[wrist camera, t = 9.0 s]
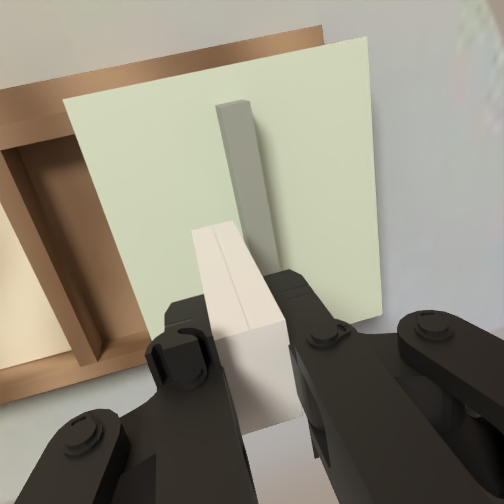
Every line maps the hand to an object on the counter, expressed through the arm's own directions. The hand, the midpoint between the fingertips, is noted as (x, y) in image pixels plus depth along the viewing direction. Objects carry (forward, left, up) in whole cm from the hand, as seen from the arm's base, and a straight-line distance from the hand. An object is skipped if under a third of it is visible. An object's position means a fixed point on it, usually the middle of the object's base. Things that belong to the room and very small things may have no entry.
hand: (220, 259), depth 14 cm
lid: (+2, 0, -3) cm, 3 cm away
